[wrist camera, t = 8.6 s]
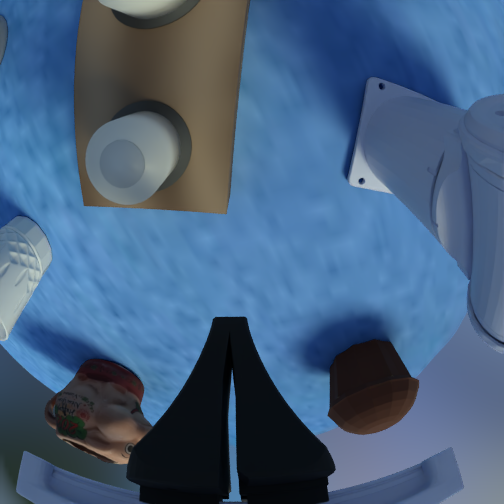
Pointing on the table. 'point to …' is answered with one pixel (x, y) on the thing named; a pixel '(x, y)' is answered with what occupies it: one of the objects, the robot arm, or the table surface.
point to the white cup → (20, 268)
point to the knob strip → (165, 92)
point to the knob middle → (143, 7)
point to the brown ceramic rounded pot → (100, 411)
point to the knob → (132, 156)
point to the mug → (3, 36)
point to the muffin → (370, 388)
